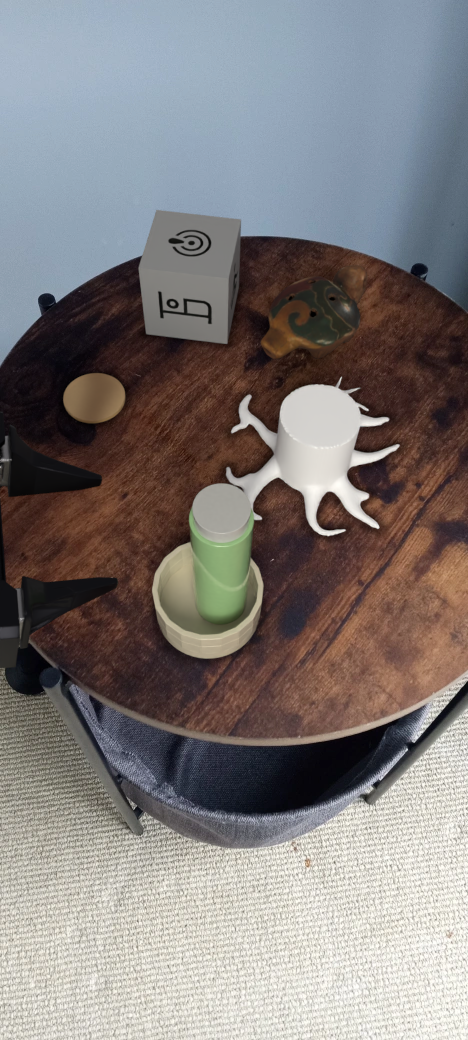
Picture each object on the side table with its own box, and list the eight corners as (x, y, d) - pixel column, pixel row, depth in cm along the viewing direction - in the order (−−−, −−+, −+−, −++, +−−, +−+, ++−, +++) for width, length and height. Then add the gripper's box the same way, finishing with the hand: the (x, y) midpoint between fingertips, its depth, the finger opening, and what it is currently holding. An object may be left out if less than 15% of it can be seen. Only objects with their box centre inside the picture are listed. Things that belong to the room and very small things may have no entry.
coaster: (68, 428, 80) (67, 425, 80) (60, 381, 84) (59, 378, 83) (130, 417, 81) (129, 414, 81) (120, 371, 85) (119, 368, 84)
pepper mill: (200, 629, 67) (195, 542, 52) (189, 582, 69) (182, 486, 55) (252, 618, 68) (262, 529, 53) (239, 571, 70) (245, 474, 55)
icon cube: (146, 334, 88) (138, 267, 79) (162, 277, 93) (156, 209, 84) (227, 344, 87) (228, 278, 78) (238, 286, 92) (241, 219, 83)
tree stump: (423, 429, 81) (443, 381, 74) (361, 567, 72) (377, 527, 65) (263, 367, 85) (267, 316, 78) (185, 490, 76) (182, 445, 69)
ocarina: (382, 327, 89) (396, 279, 82) (298, 397, 84) (304, 354, 77) (324, 283, 92) (332, 234, 85) (240, 350, 87) (241, 304, 80)
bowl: (167, 669, 66) (164, 651, 62) (148, 573, 71) (143, 550, 67) (271, 646, 68) (275, 626, 63) (245, 553, 73) (247, 529, 68)
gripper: (-135, 609, 39) (149, 590, 44) (-125, 353, 48) (109, 365, 53) (-116, 682, 47) (119, 659, 53) (-111, 455, 56) (89, 456, 62)
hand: (109, 529), depth 55 cm, fingers open, 9 cm apart
